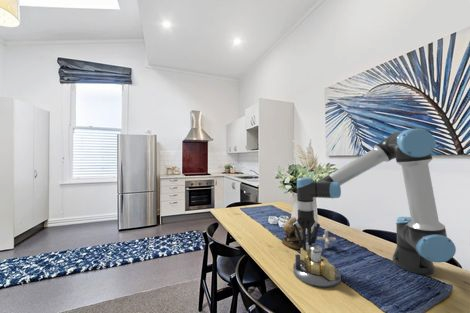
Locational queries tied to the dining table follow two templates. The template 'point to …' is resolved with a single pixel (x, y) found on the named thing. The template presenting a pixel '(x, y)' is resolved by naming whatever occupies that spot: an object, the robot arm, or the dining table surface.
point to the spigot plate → (314, 278)
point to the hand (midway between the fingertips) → (307, 257)
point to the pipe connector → (326, 239)
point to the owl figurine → (292, 235)
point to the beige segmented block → (318, 265)
